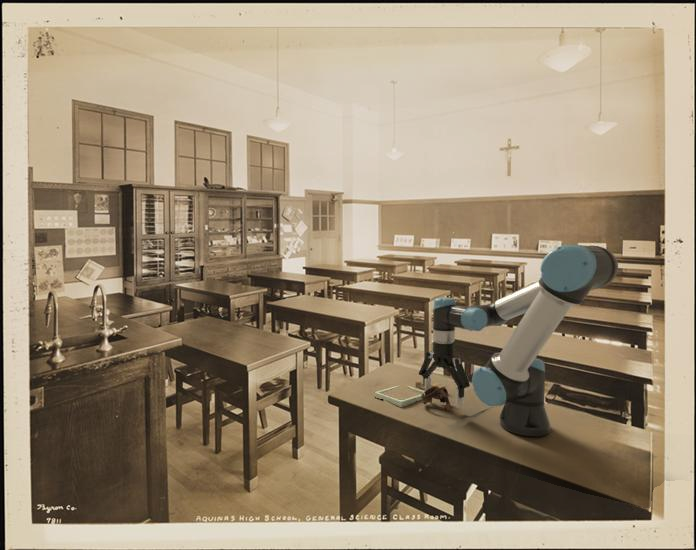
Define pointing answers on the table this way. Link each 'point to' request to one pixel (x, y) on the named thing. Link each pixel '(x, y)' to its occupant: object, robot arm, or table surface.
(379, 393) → the tray
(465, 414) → the table surface
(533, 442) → the table surface
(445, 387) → the oak cube
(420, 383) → the oak cube
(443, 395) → the broken pot
